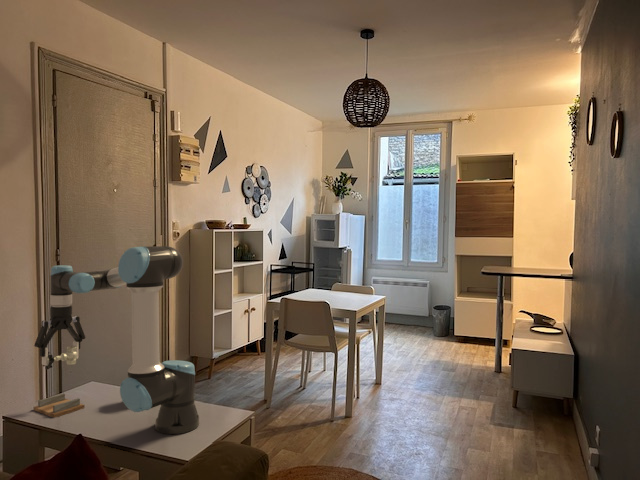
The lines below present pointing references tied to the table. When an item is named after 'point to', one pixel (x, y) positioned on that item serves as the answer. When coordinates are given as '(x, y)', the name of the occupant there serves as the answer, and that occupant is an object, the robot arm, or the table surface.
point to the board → (58, 405)
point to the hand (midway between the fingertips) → (60, 361)
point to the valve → (64, 357)
